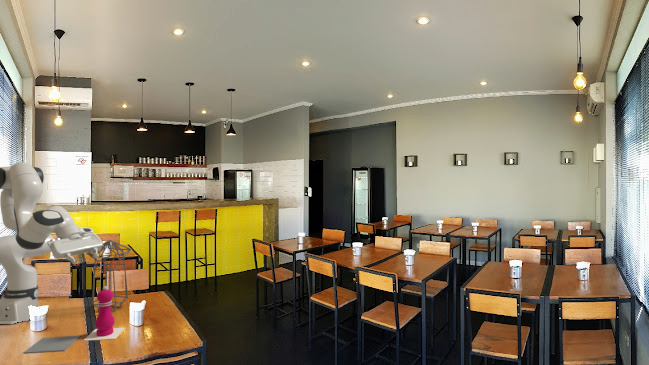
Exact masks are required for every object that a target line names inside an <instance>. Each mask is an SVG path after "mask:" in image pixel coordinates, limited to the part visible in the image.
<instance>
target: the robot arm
mask: <svg viewBox="0 0 649 365" xmlns="http://www.w3.org/2000/svg"><path fill="white" fill-rule="evenodd" d="M44 180H45V176H44V172H43V170H42V168H40V167H37V166H32V165H31V164H30V163H28V162H23V161H22V162H21V161H20V162H16V163H14V164H12V165H11V166H0V190H1V191H0V212H1V213H0V214H1V217H2V224H3V226H4V227H5V228H7V229H8V230H11V231H15V232H16V234H11V235H4V236H0V265H1V266H2V267H3V268H4V271H5V275H6V278H7V279H6V282H7V286H6V287H7V288H6V289H4V290H3V291H1V292H0V295H1V296H2V295H3V296H2V298H0V324H11V325H15V324H14V323H16V324H18V323H17V322H19V323H22V321H23V322H27V321H30V320H29V309H28V306H30V305H32V306H36V307H38V306H39V307H40V305H39V285H38V270H37V268H35V266H33V265H29V264H27V263H24V262H23V259H26V258H31V257H32V258H33V257H39V256H45V255H47V254H50V253H52V255H53V257H54V258H55V259H58V260H59V259H63V258H65V259H66V260H67V261H70V263H71V264H77V263H78V261H79V260H78V259H77V257H74V256H77V255H81V254H86V253H88V252H90V253H91V252H93V253H92V254H93V257H94V259H93V260H95V258H96V259H98V257H99V254H98V253H97V252H98V250H99V251H100V250H101V249H102V248H103V247H102V246H103V243H104V242H103V241H102V239H101V238H100V237H99V235H98V234H96V233H95V232H94V229H93V228H90V227H81V226H78V225H77V224H76V223H75V221H74V218H73V217H72V215H71V214H70V213H69V211H67V210H66V208H64V207H62V206H60V205H52V206H50V207H48V208H46V209H40V210H37V211H35V212H34V209H35V207H36V205H37V203H38V202H39V200H40V197H42V194H43V187H44V186H43V183H44ZM53 233H54V234H55V235H56V238H54V237H53V235H52V234H53ZM101 247H102V248H101ZM99 258H100V257H99Z"/></svg>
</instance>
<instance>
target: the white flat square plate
mask: <svg viewBox="0 0 649 365" xmlns="http://www.w3.org/2000/svg"><path fill="white" fill-rule="evenodd" d="M97 330H98V329H97V328H95V329H94V330H92V332H90V333H89V335H87V336H86V337H85V338H84V339H83V340H82V341H84V342H86V341H103V340H104V341H105V340H116V339H117V338H118V336H119V335H120V334H121V333H122V332H123V331H124V330H125V327H113V333H112V334H111V335H108V336H97V335H96V331H97Z"/></svg>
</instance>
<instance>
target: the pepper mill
mask: <svg viewBox="0 0 649 365" xmlns="http://www.w3.org/2000/svg"><path fill="white" fill-rule="evenodd" d="M113 296H114V291H111V290H109V289H108V286H107V285H106V286H105V285H104V286H103V287H102V290H100V291H99V292H97V295H96V300H98V301H97V302H98V303H97V304H98V305H97V307H99V312H98V314H97V317H96V320H95V323H94V326H95V329H98V330H97V331H96V335H97V336H108V335H111V334H112V333H113V328H114V326H115V322H116V321H115V317H114V315H113V312H112V313H111V308H112V307H111V305H113V303H112V302H113V301H112V299H114V297H113Z"/></svg>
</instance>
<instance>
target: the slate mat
mask: <svg viewBox="0 0 649 365" xmlns="http://www.w3.org/2000/svg"><path fill="white" fill-rule="evenodd" d="M79 338H81V335H67V336H49V337H47V336H46V337H41V339H39V340H38V341H37V342H35V343H34V344H32V345H31V346H29V347H28V348H27V349H26V350H24V351H23V352H22V354H23V353H24V354H36V353H38V352H39V353H50V352H52V353H53V352H65V351H67V350H68V349H69V348H70V347H71V346H72V345H73V344H74V343H75V342H76V341H77V340H79Z"/></svg>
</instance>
